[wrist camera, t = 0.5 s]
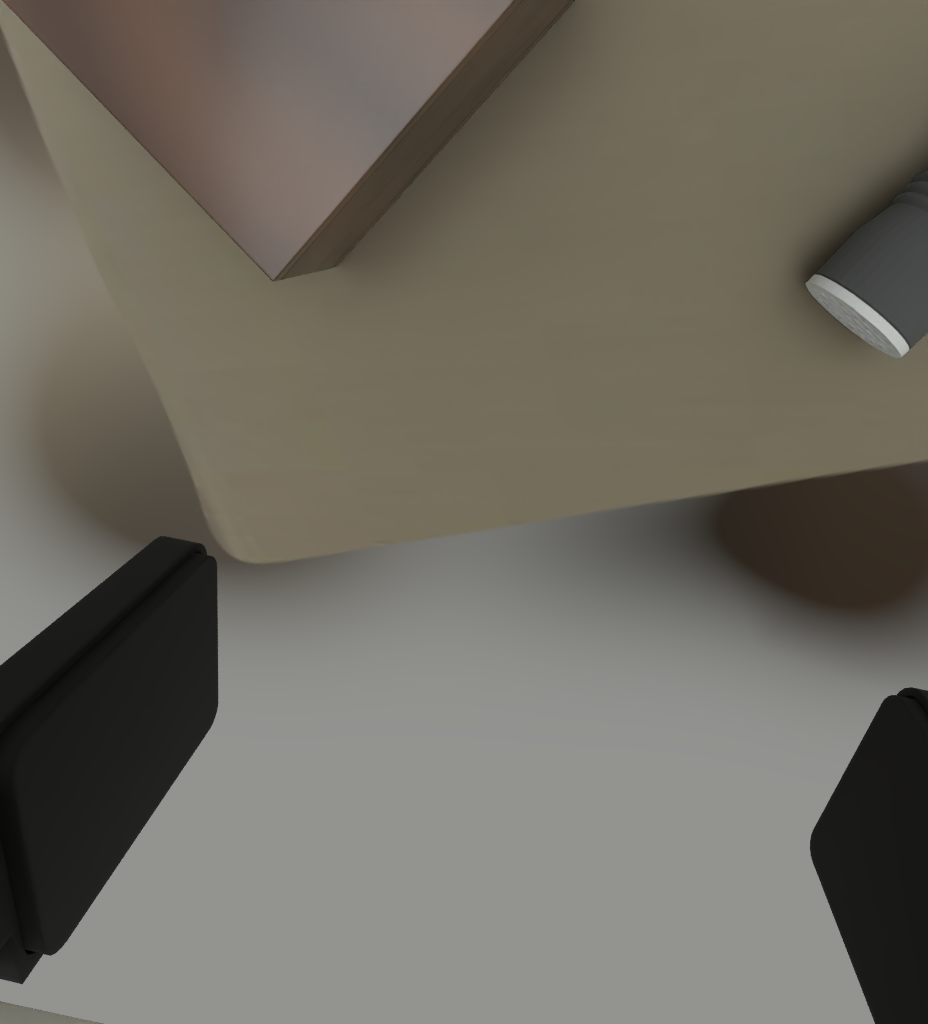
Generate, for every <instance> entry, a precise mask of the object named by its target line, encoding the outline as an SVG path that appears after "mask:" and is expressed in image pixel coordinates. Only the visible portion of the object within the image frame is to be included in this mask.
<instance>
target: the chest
mask: <svg viewBox="0 0 928 1024" xmlns="http://www.w3.org/2000/svg"><path fill="white" fill-rule="evenodd" d="M574 1H575V0H521V2H520V3H519V4H518V5H517V6H516V7H515V8H514V10H513V11H512V12H511V13H510V14H509V15H508V17H507V18H506V19H505V20H504V21H503V22H502V24H501V25H500V26H499V27H498V28H497V29H496V31H495V32H494V33H493V34H492V35H491V36H490V37H489V39H488V40H487V41H486V42H485V43H484V44H483V46H482V47H481V48H480V49H479V50H478V51H477V53H476V54H475V55H474V56H473V57H472V58H471V59H470V61H469V62H468V63H467V64H466V65H465V66H464V68H463V69H462V70H461V71H460V72H459V73H458V75H457V76H456V77H455V78H454V79H453V80H452V82H451V83H450V84H449V85H448V86H447V87H446V88H445V90H444V91H443V92H442V93H441V94H440V95H439V97H438V98H437V99H436V100H435V101H434V102H433V104H432V105H431V106H430V107H429V108H428V109H427V110H426V112H425V113H424V114H423V115H422V116H421V117H420V119H419V120H418V121H417V122H416V123H415V124H414V126H413V127H412V128H411V129H410V130H409V131H408V132H407V134H406V135H405V136H404V137H403V138H402V139H401V141H400V142H399V143H398V144H397V145H396V146H395V148H394V149H393V150H392V151H391V152H390V153H389V155H388V156H387V157H386V158H385V159H384V160H383V161H382V163H381V164H380V165H379V166H378V167H377V168H376V170H375V171H374V172H373V173H372V174H371V175H370V177H369V178H368V179H367V180H366V181H365V182H364V183H363V185H362V186H361V187H360V188H359V189H358V190H357V192H356V193H355V194H354V195H353V196H352V197H351V199H350V200H349V201H348V202H347V203H346V204H345V206H344V207H343V208H342V209H341V210H340V211H339V212H338V214H337V215H336V216H335V217H334V218H333V219H332V221H331V222H330V223H329V224H328V225H327V226H326V228H325V229H324V230H323V231H322V232H321V233H320V234H319V236H318V237H317V238H316V239H315V240H314V241H313V243H312V244H311V245H310V246H309V247H308V248H307V250H306V251H305V252H304V253H303V254H302V255H301V257H300V258H299V259H298V260H297V261H296V262H295V263H294V265H293V266H292V267H291V268H290V269H289V270H288V272H287V273H286V274H285V275H284V276H283V277H282V279H287V278H291V277H295V276H299V275H304V274H308V273H312V272H316V271H321V270H325V269H329V268H332V267H336V266H337V265H338V264H339V263H340V262H341V261H342V260H343V258H344V257H345V256H346V255H347V254H348V253H349V252H350V251H351V250H352V248H353V247H354V246H355V245H356V244H357V243H358V242H359V241H360V239H361V238H362V237H363V236H364V235H365V234H366V233H367V232H368V231H369V229H370V228H371V227H372V226H373V225H374V224H375V223H376V222H377V221H378V219H379V218H380V217H381V216H382V215H383V214H384V213H385V212H386V210H387V209H388V208H389V207H390V206H391V205H392V204H393V203H394V202H395V200H396V199H397V198H398V197H399V196H400V195H401V194H402V193H403V192H404V190H405V189H406V188H407V187H408V186H409V185H410V184H411V183H412V181H413V180H414V179H415V178H416V177H417V176H418V175H419V174H420V173H421V171H422V170H423V169H424V168H425V167H426V166H427V165H428V164H429V163H430V161H431V160H432V159H433V158H434V157H435V156H436V155H437V154H438V152H439V151H440V150H441V149H442V148H443V147H444V146H445V145H446V144H447V142H448V141H449V140H450V139H451V138H452V137H453V136H454V135H455V134H456V132H457V131H458V130H459V129H460V128H461V127H462V126H463V125H464V123H465V122H466V121H467V120H468V119H469V118H470V117H471V116H472V115H473V113H474V112H475V111H476V110H477V109H478V108H479V107H480V106H481V105H482V103H483V102H484V101H485V100H486V99H487V98H488V97H489V96H490V94H491V93H492V92H493V91H494V90H495V89H496V88H497V87H498V86H499V84H500V83H501V82H502V81H503V80H504V79H505V78H506V77H507V75H508V74H509V73H510V72H511V71H512V70H513V69H514V68H515V67H516V65H517V64H518V63H519V62H520V61H521V60H522V59H523V58H524V57H525V55H526V54H527V53H528V52H529V51H530V50H531V49H532V48H533V46H534V45H535V44H536V43H537V42H538V41H539V40H540V39H541V38H542V36H543V35H544V34H545V33H546V32H547V31H548V30H549V29H550V28H551V26H552V25H553V24H554V23H555V22H556V21H557V20H558V19H559V17H560V16H561V15H562V14H563V13H564V12H565V11H566V10H567V9H568V7H569V6H570V5H571V4H572V3H573V2H574ZM282 279H281V280H282Z"/></svg>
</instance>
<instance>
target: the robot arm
mask: <svg viewBox="0 0 928 1024" xmlns="http://www.w3.org/2000/svg"><path fill="white" fill-rule="evenodd" d="M217 618H218V617H217V563H216V560H215V558H214V557H213V556H208V555H207V552H206V549H205V547H204V546H203V545H202V544H200V543H195V542H190V541H186V540H181V539H175V538H171V537H166V536H160V537H158V538H157V539H155V540H154V541H152V542H151V543H150V544H149V545H148V546H147V547H145V548H144V549H143V550H141V551H140V552H139V553H138V554H137V555H135V556H134V557H133V558H132V559H130V560H129V561H128V562H127V563H126V564H124V565H123V566H122V567H121V568H120V569H118V570H117V571H116V572H114V573H113V574H112V575H111V576H110V577H109V578H107V579H106V580H105V581H103V583H101V584H100V585H99V586H97V587H96V588H95V589H94V590H92V591H91V592H90V593H89V594H88V595H86V596H85V597H84V598H83V599H81V600H80V601H79V602H78V603H76V604H75V605H74V606H73V607H72V608H70V609H69V610H68V611H67V612H65V613H64V614H63V615H62V616H61V617H59V618H58V619H57V620H56V621H55V622H53V623H52V624H51V625H50V626H48V627H47V628H46V629H45V630H43V631H42V632H41V633H40V634H39V635H37V636H36V637H35V638H34V639H32V640H31V641H30V642H29V643H28V644H26V645H25V646H24V647H23V648H21V649H20V650H19V651H18V652H16V653H15V654H14V655H13V656H12V657H10V658H9V659H8V660H7V661H6V662H4V663H3V664H2V665H0V979H3V980H8V981H12V982H16V983H20V984H23V982H24V981H25V980H26V978H27V977H28V975H29V974H30V972H31V971H32V969H33V968H34V967H35V965H36V964H37V962H38V961H39V959H40V958H41V957H42V955H43V954H46V955H53V954H55V953H56V952H57V951H58V950H59V949H60V948H62V946H63V945H64V944H65V942H66V941H67V940H68V938H69V937H70V936H71V934H72V932H73V931H74V930H75V928H76V927H77V925H78V924H79V922H80V921H81V919H82V918H83V916H84V915H85V913H86V912H87V910H88V909H89V907H90V906H91V904H92V903H93V901H94V900H95V898H96V897H97V895H98V894H99V892H100V891H101V890H102V888H103V887H104V885H105V884H106V882H107V880H108V879H109V878H110V876H111V875H112V873H113V872H114V870H115V869H116V867H117V866H118V864H119V863H120V861H121V860H122V858H123V857H124V855H125V854H126V852H127V851H128V850H129V848H130V847H131V845H132V844H133V842H134V841H135V839H136V838H137V836H138V834H139V833H140V832H141V830H142V829H143V827H144V826H145V824H146V823H147V821H148V820H149V818H150V817H151V815H152V814H153V812H154V811H155V809H156V808H157V807H158V805H159V804H160V802H161V801H162V799H163V798H164V796H165V794H166V793H167V792H168V790H169V789H170V787H171V786H172V784H173V783H174V781H175V780H176V778H177V777H178V775H179V774H180V772H181V771H182V769H183V768H184V766H185V765H186V764H187V762H188V761H189V759H190V758H191V756H192V755H193V753H194V752H195V750H196V749H197V747H198V746H199V744H200V743H201V741H202V740H203V738H204V737H205V735H206V734H207V732H208V731H209V729H210V728H211V726H212V724H213V721H214V719H215V715H216V712H217V707H218V625H217V624H218V621H217V620H218V619H217ZM810 851H811V857H812V861H813V864H814V866H815V869H816V871H817V874H818V877H819V879H820V882H821V884H822V887H823V890H824V892H825V895H826V897H827V900H828V903H829V905H830V908H831V910H832V913H833V916H834V918H835V921H836V923H837V926H838V928H839V931H840V934H841V936H842V939H843V942H844V944H845V947H846V949H847V952H848V954H849V957H850V959H851V962H852V965H853V967H854V970H855V973H856V975H857V978H858V980H859V983H860V986H861V988H862V991H863V993H864V996H865V998H866V1001H867V1004H868V1006H869V1009H870V1012H871V1014H872V1016H873V1019H874V1022H875V1024H928V691H926V690H921V689H916V688H904V689H903V690H901V691H900V692H899V693H898V694H897V695H891V696H888V697H887V698H886V699H885V700H884V701H883V703H882V704H881V706H880V708H879V710H878V712H877V713H876V715H875V717H874V719H873V721H872V723H871V724H870V726H869V728H868V730H867V732H866V734H865V735H864V737H863V739H862V741H861V743H860V745H859V746H858V748H857V750H856V752H855V754H854V756H853V758H852V759H851V761H850V763H849V765H848V767H847V769H846V771H845V772H844V774H843V776H842V778H841V780H840V782H839V784H838V785H837V787H836V789H835V791H834V793H833V794H832V796H831V798H830V800H829V802H828V804H827V806H826V808H825V810H824V811H823V813H822V815H821V817H820V818H819V820H818V822H817V824H816V826H815V828H814V830H813V832H812V835H811V840H810ZM0 1024H101V1023H97V1022H92V1021H88V1020H83V1019H78V1018H74V1017H69V1016H64V1015H59V1014H55V1013H51V1012H46V1011H42V1010H37V1009H33V1008H28V1007H23V1006H19V1005H14V1004H9V1003H5V1002H0Z"/></svg>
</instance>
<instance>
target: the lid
mask: <svg viewBox="0 0 928 1024" xmlns="http://www.w3.org/2000/svg"><path fill="white" fill-rule="evenodd" d="M3 2H4V3H5V4H6V5H7V6H8V7H9V8H10V9H11V10H12V11H13V12H14V13H15V14H16V15H17V16H18V17H19V18H20V19H21V20H22V21H23V22H24V23H25V24H26V25H27V26H28V28H29V29H30V30H31V31H32V32H33V33H34V34H35V35H36V36H37V37H38V38H39V39H40V40H41V41H42V42H43V43H44V44H45V45H46V46H47V47H48V48H49V49H50V50H51V51H52V52H53V54H54V55H55V56H56V57H57V58H58V59H59V60H60V61H61V62H62V63H63V64H64V65H65V66H66V67H67V68H68V69H69V70H70V71H71V72H72V73H73V74H74V75H75V76H76V77H77V78H78V79H79V81H80V82H81V83H82V84H83V85H84V86H85V87H86V88H87V89H88V90H89V91H90V92H91V93H92V94H93V95H94V96H95V97H96V98H97V99H98V100H99V101H100V102H101V103H102V104H103V105H104V107H105V108H106V109H107V110H108V111H109V112H110V113H111V114H112V115H113V116H114V117H115V118H116V119H117V120H118V121H119V122H120V123H121V124H122V125H123V126H124V127H125V128H126V129H127V130H128V131H129V133H130V134H131V135H132V136H133V137H134V138H135V139H136V140H137V141H138V142H139V143H140V144H141V145H142V146H143V147H144V148H145V149H146V150H147V151H148V152H149V153H150V154H151V155H152V156H153V157H154V158H155V160H156V161H157V162H158V163H159V164H160V165H161V166H162V167H163V168H164V169H165V170H166V171H167V172H168V173H169V174H170V175H171V176H172V177H173V178H174V179H175V180H176V181H177V182H178V183H179V184H180V186H181V187H182V188H183V189H184V190H185V191H186V192H187V193H188V194H189V195H190V196H191V197H192V198H193V199H194V200H195V201H196V202H197V203H198V204H199V205H200V206H201V207H202V208H203V209H204V210H205V212H206V213H207V214H208V215H209V216H210V217H211V218H212V219H213V220H214V221H215V222H216V223H217V224H218V225H219V226H220V227H221V228H222V229H223V230H224V231H225V232H226V233H227V234H228V235H229V236H230V237H231V239H232V240H233V241H234V242H235V243H236V244H237V245H238V246H239V247H240V248H241V249H242V250H243V251H244V252H245V253H246V254H247V255H248V256H249V257H250V258H251V259H252V260H253V261H254V262H255V263H256V265H257V266H258V267H259V268H260V269H261V270H262V271H263V272H264V273H265V274H266V275H267V276H268V277H269V278H270V279H271V280H272V281H278V280H281V279H282V277H283V276H284V275H285V274H286V273H287V272H288V270H289V269H290V268H291V267H292V266H293V265H294V263H295V262H296V261H297V260H298V259H299V258H300V257H301V255H302V254H303V253H304V252H305V251H306V250H307V248H308V247H309V246H310V245H311V244H312V243H313V241H314V240H315V239H316V238H317V237H318V236H319V234H320V233H321V232H322V231H323V230H324V229H325V228H326V226H327V225H328V224H329V223H330V222H331V221H332V219H333V218H334V217H335V216H336V215H337V214H338V212H339V211H340V210H341V209H342V208H343V207H344V206H345V204H346V203H347V202H348V201H349V200H350V199H351V197H352V196H353V195H354V194H355V193H356V192H357V190H358V189H359V188H360V187H361V186H362V185H363V183H364V182H365V181H366V180H367V179H368V178H369V177H370V175H371V174H372V173H373V172H374V171H375V170H376V168H377V167H378V166H379V165H380V164H381V163H382V161H383V160H384V159H385V158H386V157H387V156H388V155H389V153H390V152H391V151H392V150H393V149H394V148H395V146H396V145H397V144H398V143H399V142H400V141H401V139H402V138H403V137H404V136H405V135H406V134H407V132H408V131H409V130H410V129H411V128H412V127H413V126H414V124H415V123H416V122H417V121H418V120H419V119H420V117H421V116H422V115H423V114H424V113H425V112H426V110H427V109H428V108H429V107H430V106H431V105H432V104H433V102H434V101H435V100H436V99H437V98H438V97H439V95H440V94H441V93H442V92H443V91H444V90H445V88H446V87H447V86H448V85H449V84H450V83H451V82H452V80H453V79H454V78H455V77H456V76H457V75H458V73H459V72H460V71H461V70H462V69H463V68H464V66H465V65H466V64H467V63H468V62H469V61H470V59H471V58H472V57H473V56H474V55H475V54H476V53H477V51H478V50H479V49H480V48H481V47H482V46H483V44H484V43H485V42H486V41H487V40H488V39H489V37H490V36H491V35H492V34H493V33H494V32H495V31H496V29H497V28H498V27H499V26H500V25H501V24H502V22H503V21H504V20H505V19H506V18H507V17H508V15H509V14H510V13H511V12H512V11H513V10H514V8H515V7H516V6H517V5H518V4H519V3H520V2H521V0H3Z"/></svg>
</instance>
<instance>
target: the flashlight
mask: <svg viewBox="0 0 928 1024" xmlns="http://www.w3.org/2000/svg"><path fill="white" fill-rule="evenodd" d="M806 287H807V289H808V291H809V292H810V293H811V295H812V296H813V297H814V298H815V299H816V300H817V301H818V302H819V303H820V304H821V305H822V306H823V307H824V308H825V309H826V310H827V311H828V312H829V313H831V314H832V315H833V316H834V317H835V318H836V319H837V320H838V321H840V322H841V323H842V324H843V325H844V326H846V327H847V328H848V329H849V330H851V331H852V332H853V333H855V334H856V335H857V336H859V337H860V338H862V339H863V340H864V341H866V342H867V343H869V344H870V345H872V346H873V347H875V348H876V349H878V350H880V351H882V352H884V353H885V354H887V355H889V356H891V357H893V358H897V359H900V358H901V357H902V356H903V355H904V354H905V353H906V352H908V351H909V349H911V348H912V347H913V346H914V345H915V344H916V343H917V342H918V341H919V340H920V339H921V338H923V337H924V336H925V335H926V334H927V333H928V171H924V172H921V173H919V174H917V175H916V176H915V177H914V179H913V181H912V183H910V184H908V185H907V186H906V187H904V189H903V191H902V194H899V195H898V196H896V197H895V198H894V199H893V201H892V204H891V206H890V207H889V208H887V209H886V210H884V211H883V212H881V213H880V214H879V215H877V216H876V217H874V218H873V219H871V220H870V221H869V222H867V223H866V224H864V225H863V226H861V227H860V228H859V229H857V230H856V231H855V232H854V233H853V234H852V235H851V236H850V237H849V238H848V240H847V241H846V242H845V243H844V244H843V245H842V246H841V247H840V248H839V249H838V250H837V251H836V252H835V253H834V254H833V255H832V256H831V257H830V258H829V259H828V261H827V262H826V263H825V264H824V265H823V266H822V267H821V268H820V269H819V270H818V271H817V272H816V273H815V275H813V276H812V277H811V278H810V279H809V280H808V281H807V282H806Z"/></svg>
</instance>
